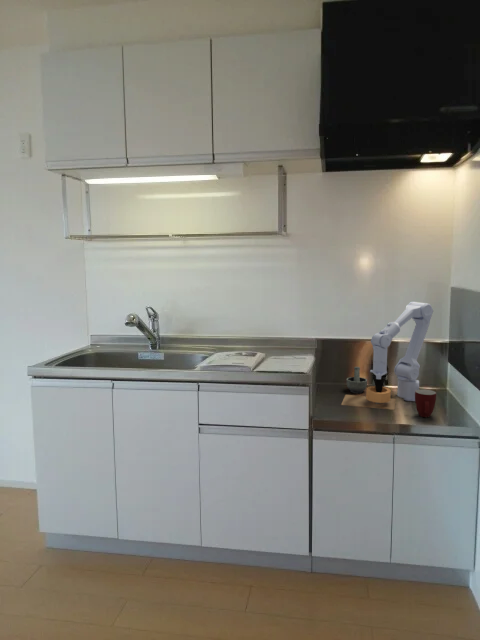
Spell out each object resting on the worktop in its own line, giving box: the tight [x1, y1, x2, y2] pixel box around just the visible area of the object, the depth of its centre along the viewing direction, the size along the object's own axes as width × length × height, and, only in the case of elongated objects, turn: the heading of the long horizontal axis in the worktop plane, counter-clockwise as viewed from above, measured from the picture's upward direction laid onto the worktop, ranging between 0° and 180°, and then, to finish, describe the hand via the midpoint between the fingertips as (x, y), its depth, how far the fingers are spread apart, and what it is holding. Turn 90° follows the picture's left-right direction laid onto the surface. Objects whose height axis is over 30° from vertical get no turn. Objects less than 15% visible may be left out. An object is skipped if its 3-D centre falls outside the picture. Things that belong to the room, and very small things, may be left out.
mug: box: [414, 388, 437, 418], centre depth 203 cm, size 10×8×10 cm
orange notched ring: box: [365, 385, 392, 403], centre depth 217 cm, size 10×10×4 cm
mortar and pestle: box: [346, 366, 368, 394], centre depth 236 cm, size 11×9×12 cm
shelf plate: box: [340, 394, 397, 411], centre depth 220 cm, size 22×16×5 cm
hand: (379, 391), depth 221 cm, fingers open, 2 cm apart
